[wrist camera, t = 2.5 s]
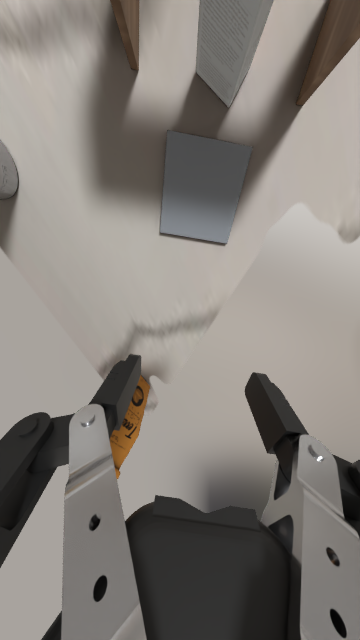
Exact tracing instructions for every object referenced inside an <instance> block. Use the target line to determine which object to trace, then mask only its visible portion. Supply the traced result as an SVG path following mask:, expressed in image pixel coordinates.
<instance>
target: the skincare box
mask: <svg viewBox="0 0 360 640" xmlns="http://www.w3.org/2000/svg"><path fill="white" fill-rule="evenodd" d="M272 3H273V0H200V6H199V22H198V40H197V57H196V73H197V74H198V75H199V76H200V77H201V78H202V79H203V80H204V81H205V82H206V83H207V84H208V86H209V87H210V88H211V89H212V90H213V91H214V92H215V93H216V94H217V95H218V96H219V98H220V99H221V100H222V101H223V102H224V103H225V104H226V105H227V106H228V107H230V105H231V103H232V101H233V99H234V97H235V95H236V93H237V92H238V90H239V88H240V86H241V84H242V82H243V80H244V78H245V76H246V74H247V72H248V70H249V68H250V66H251V63H252V60H253V57H254V54H255V51H256V49H257V46H258V43H259V40H260V37H261V35H262V32H263V29H264V26H265V23H266V20H267V17H268V15H269V12H270V9H271V6H272Z"/></svg>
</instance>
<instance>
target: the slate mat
mask: <svg viewBox="0 0 360 640" xmlns="http://www.w3.org/2000/svg"><path fill="white" fill-rule="evenodd" d="M252 148H253V147H250V146H245V145H240V144H235V143H230V142H225V141H220V140H215V139H210V138H205V137H200V136H195V135H190V134H185V133H180V132H175V131H170V130H167V142H166V156H165V170H164V184H163V198H162V212H161V226H160V232H161V233H167V234H173V235H179V236H184V237H190V238H196V239H202V240H208V241H214V242H220V243H225V244H227V242H228V238H229V235H230V231H231V227H232V223H233V219H234V216H235V212H236V208H237V204H238V201H239V197H240V193H241V189H242V186H243V182H244V178H245V174H246V171H247V167H248V163H249V159H250V155H251V152H252Z"/></svg>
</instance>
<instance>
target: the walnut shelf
mask: <svg viewBox="0 0 360 640" xmlns="http://www.w3.org/2000/svg"><path fill="white" fill-rule="evenodd" d="M110 1H111V4H112V7H113V11H114V14H115V17H116V21H117V24H118V27H119V31H120V34H121V37H122V40H123V44H124V47H125V50H126V54H127V57H128V60H129V64H130V67H131V69H134V70H139V0H110ZM359 38H360V0H330V3H329V6H328V9H327V12H326V15H325V18H324V21H323V24H322V27H321V30H320V33H319V36H318V39H317V42H316V45H315V48H314V51H313V54H312V57H311V60H310V63H309V66H308V69H307V72H306V75H305V78H304V81H303V84H302V87H301V91H300V94H299V97H298V100H297V103H296V104H297V105H302V106H303V105H304V104H305V102H306V101H307V100H308V99H309V98H310V96H311V95H312V94H313V93H314V92H315V91H316V89H317V88H318V87H319V86H320V85H321V83H322V82H323V81H324V80H325V79H326V77H327V76H328V75H329V74H330V73H331V71H332V70H333V69H334V68H335V67H336V65H337V64H338V63H339V62H340V61H341V59H342V58H343V57H344V56H345V55H346V53H347V52H348V51H349V50H350V49H351V48H352V46H353V45H354V44H355V43H356V42H357V40H358V39H359Z"/></svg>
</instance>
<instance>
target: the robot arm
mask: <svg viewBox="0 0 360 640" xmlns="http://www.w3.org/2000/svg"><path fill="white" fill-rule="evenodd" d="M17 186H18V176H17V171H16V167H15V164H14V162H13V159H12V157H11V155H10V153H9V152H8V150H7V148H6V147H5V145H4V144H3V143H2V141H1V140H0V199H6V198H10V197H11V196H13V195H14V193H15V192H16V189H17ZM140 375H141V356H140V355H133V354H130V355H129V356H128V358H127V360H126V361H120V362H118V363H117V364H116V365H114V367H113V368H112V370H111V371H110V374H108V376H107V378H106V379H105V381H104V382H103V384H102V385H101V387H100V388H99V390H98V391H97V393H96V395H95V396H94V397H93V399H92V401H91V402H90V403H89V404H88V405H87V406H84V407H83V408H81V409H80V410H78V411H77V412H76V413H74V414H71V415H66V416H61V417H56V418H50V416H49V415H48V414H47V413H44V412H39V413H34V414H32V415H29V416H27V417H25V418H23V419H22V420H20V421H19V422H18V423H16V424H15V425H14V426H13V427H12V428H11V429H10V430H9V431H8V432H7V433H6V435H5V436H4V437H3V438H2V439H1V440H0V568H1V566H2V564H3V562H4V560H5V559H6V557H7V555H8V553H9V552H10V550H11V548H12V546H13V544H14V543H15V541H16V539H17V537H18V536H19V534H20V532H21V530H22V528H23V527H24V525H25V523H26V521H27V520H28V518H29V516H30V514H31V513H32V511H33V509H34V507H35V505H36V503H37V502H38V500H39V498H40V497H41V495H42V493H43V491H44V489H45V488H46V486H47V484H48V482H49V481H50V479H51V477H52V475H53V473H54V472H55V470H56V468H57V467H58V466H62V465H66V464H69V479H68V482H67V484H66V488H65V498H64V499H65V500H64V543H63V545H64V546H63V588H62V611H61V613H60V614H59V615H58V616H57V618H56V620H55V621H54V622H53V624H52V625H51V626H50V628H49V629H48V631H47V632H46V634H45V635H44V636H43V638H42V639H41V640H360V460H358V461H356V462H354V463H353V464H352V463H350V462H348V461H346V460H344V459H341V458H339V457H337V456H335V455H333V454H331V452H330V451H329V450H328V449H327V448H326V446H325V445H323V444H322V443H321V442H320V441H319V440H317V439H316V438H314V437H312V436H310V435H309V434H308V433H307V431H306V430H305V428H304V426H303V425H302V423H301V422H300V420H299V419H298V417H297V415H296V414H295V412H294V411H293V409H292V408H291V406H290V405H289V403H288V401H287V400H286V399H285V397H284V395H283V393H282V392H281V390H280V389H279V388H278V387H277V386H275V384H274V383H271V382H270V380H269V378H268V377H267V375H266V374H261V373H252V375H251V377H250V379H249V381H248V383H247V385H246V387H245V395H246V398H247V401H248V403H249V406H250V409H251V412H252V414H253V417H254V419H255V422H256V425H257V427H258V430H259V433H260V435H261V438H262V440H263V443H264V446H265V449H266V451H267V453H270V454H276V456H277V459H278V460H277V461H276V463H275V469H274V475H273V481H272V486H271V492H270V498H269V502H268V504H267V506H266V508H265V510H264V513H263V515H262V519H261V522H260V521H259V520H258V519H257V516H256V512H255V510H253V509H247V508H240V507H232V506H229V507H226V508H223V509H220V510H217V511H214V512H210V513H203V512H202V511H200V510H198V509H197V508H195V507H193V506H191V505H190V504H188V503H186V502H185V501H182V500H181V499H177V498H171V497H164V496H157V495H156V496H155V501H154V502H152V503H149V504H147V505H144V506H142V507H141V508H139V509H138V510H137V511H135V512H134V513H133V514H132V515H131V516H130V517H129V518H128V519H127V520H126V521H125V520H124V515H123V510H122V505H121V499H120V494H119V489H118V483H117V478H116V472H115V467H114V462H113V456H112V451H111V446H110V438H111V435H112V433H113V431H114V430H117V431H119V430H120V428H121V425H122V423H123V420H124V418H125V415H126V412H127V410H128V407H129V405H130V402H131V400H132V397H133V395H134V392H135V389H136V387H137V384H138V382H139V379H140Z"/></svg>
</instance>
